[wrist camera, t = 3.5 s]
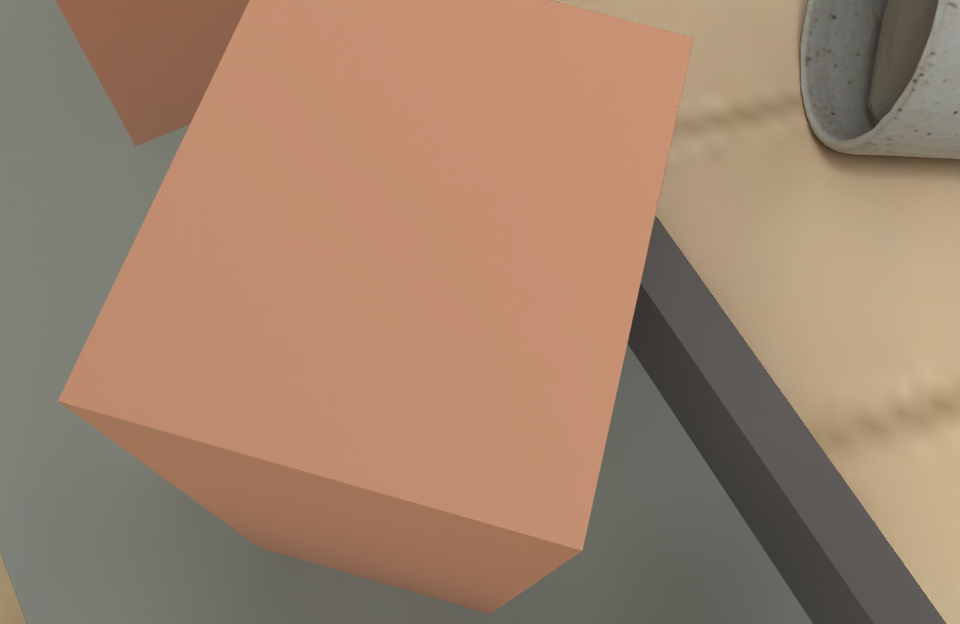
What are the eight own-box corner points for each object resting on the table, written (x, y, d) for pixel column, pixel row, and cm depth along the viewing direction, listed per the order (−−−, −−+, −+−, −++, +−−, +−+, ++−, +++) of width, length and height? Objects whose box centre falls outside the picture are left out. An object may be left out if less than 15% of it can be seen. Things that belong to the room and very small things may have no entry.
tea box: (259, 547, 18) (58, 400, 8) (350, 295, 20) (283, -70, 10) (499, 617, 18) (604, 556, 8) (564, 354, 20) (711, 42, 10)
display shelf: (244, 1045, 17) (171, 1202, 12) (-141, 63, 25) (-281, -87, 20) (835, 636, 21) (967, 627, 16) (338, -109, 29) (320, -273, 24)
